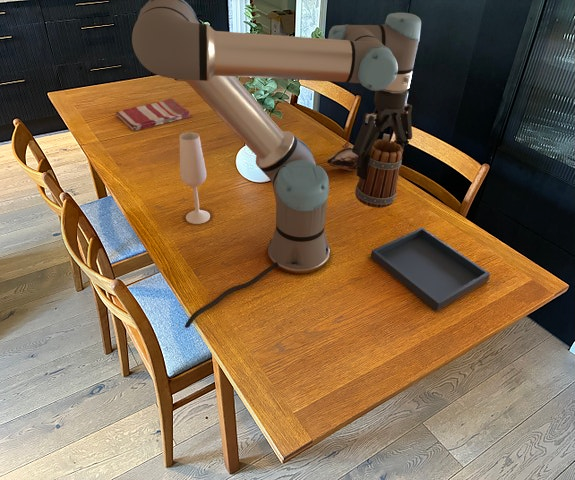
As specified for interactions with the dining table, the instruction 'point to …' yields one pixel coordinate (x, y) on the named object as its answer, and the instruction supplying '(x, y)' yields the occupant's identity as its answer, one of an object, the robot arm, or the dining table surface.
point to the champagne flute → (193, 172)
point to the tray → (430, 267)
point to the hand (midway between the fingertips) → (378, 171)
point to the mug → (380, 174)
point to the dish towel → (153, 114)
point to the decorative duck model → (344, 158)
